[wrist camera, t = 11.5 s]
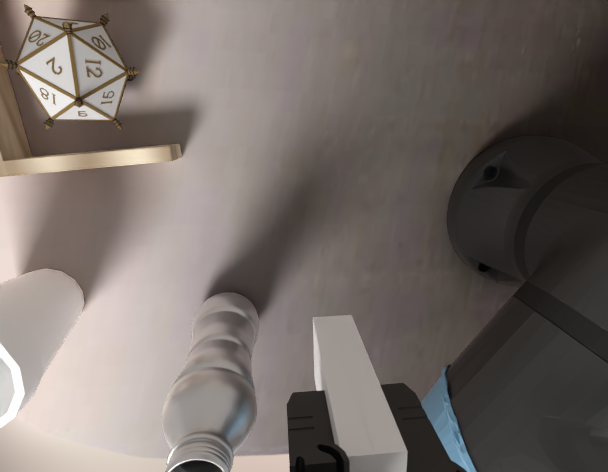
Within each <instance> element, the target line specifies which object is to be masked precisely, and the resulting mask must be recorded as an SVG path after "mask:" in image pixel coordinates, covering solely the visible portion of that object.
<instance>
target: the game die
mask: <svg viewBox="0 0 608 472" xmlns="http://www.w3.org/2000/svg"><path fill="white" fill-rule="evenodd" d="M24 7H25V12H26V13H27V14H28V16H30V17H31V18H32V20H31V23H30V26H29V28H28V31H27V33H26V36H25V38H24V41H23V44H22V46H21V49H20V51H19V54H18V57H17V59H16V62H15V63H14V62H12V61H11V60H10V61H8V60H6V61H4V62H2V63H0V64H1V65H3V66H5V68H7V69H9V68H11V69H13V68H16V69H17V71H16V72H17V73H18V74H19V75H21V77H22V78H23V80H24V81H25V83H26V84H27V86H28V87H29V88H30V90H31V91H32V93H33V94H34V96H35V97H36V99H37V100H38V102H39V103H40V105H41V106H42V108H43V109H44V111H45V112H46V114H47V115H48V117H49V119H48V120H46V123H44V124H45V127H46V130H47V129H49V128H50V127H52V125H53V121H54V120H91V121H113V123H114V124H115V126H116V127H117V128H119V129H121V130H122V128H121V124H122V123H120V122H119V121H118V120H117V119H116V116H117V113H118V109H119V106H120V103H121V99H122V96H123V92H124V89H125V86H126V82H127V80H128V81H129V80H130V81H132V80H133V79H134V77H133V75H134V76H135V75H137V73H139V71H138V70H136V69H135V68H134V67H133V68H130V69H128V68H127V66H126V65H125V63H124V61H123V59H122V57H121V56H120V54H119V52H118V50H117V48H116V46H115V45H114V43H113V41H112V39H111V37H110V36H109V34H108V32H107V30H106V28H105V24H107V22H108V21H109V20H108V13H107V14H105V15H103V16H102V18H100V20H101V21H100V23H97V22H88V21H78V20H69V19H59V18H49V17H40V16H36V15H35V12H34V11H33V10H32V8H30V7H28V6H27V5H25V4H24Z"/></svg>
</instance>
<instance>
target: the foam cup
mask: <svg viewBox="0 0 608 472" xmlns="http://www.w3.org/2000/svg"><path fill="white" fill-rule="evenodd" d="M84 305H85V303H84V295H83V291H82V289H81V288H80V286H79V285H78V283H77V282H76V280H75V279H73V278H72V277H70V276H69V275H67V274H65V273H64V272H62V271H58V270H53V269H48V268H45V269H40V270H35V271H31V272H29V273H26V274H23V275H21V276H18V277H16V278H13V279H11V280H8V281H6V282H3V283H1V284H0V428H1V427H2V426H4V425H5V424H6V423H8V422H9V421H10V420H12V419H13V418H14V417H16V416H17V414H18V413H19V412H20V411H21V410H22V408H23V407H24V406H25V405H26V404H27V403H28V401H29V400H30V399H31V398H32V397H33V395H34V394H35V392H36V389H37V387H38V384H39V382H40V380H41V378H42V376H43V375H44V373H45V371H46V370H47V368H48V366H49V365H50V363H51V362H52V360H53V358H54V357H55V355H56V354H57V352H58V350H59V349H60V347H61V346H62V344H63V342H64V341H65V339H66V338H67V336H68V334H69V333H70V331H71V329H72V328H73V326H74V325H75V323H76V321H77V320H78V318H79V316H80V314H81V312H82V310H83V307H84Z"/></svg>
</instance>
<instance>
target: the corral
mask: <svg viewBox="0 0 608 472" xmlns="http://www.w3.org/2000/svg"><path fill="white" fill-rule="evenodd" d="M4 61H5V59H4V56H3V52H2V49H1V45H0V63H2V62H4ZM180 157H182V154H181V148H180V144H169V145H157V146H146V147H135V148H124V149H112V150H101V151H90V152H79V153H67V154H56V155H45V156H34V157H32V154H31V151H30V147H29V144H28V140H27V137H26V133H25V130H24V126H23V123H22V119H21V115H20V112H19V108H18V105H17V101H16V98H15V94H14V91H13V87H12V84H11V80H10V77H9V73H8V70H7V68H5V66H3V65H1V64H0V177H4V176H15V175H26V174H37V173H48V172H59V171H70V170H81V169H92V168H103V167H113V166H124V165H135V164H146V163H157V162H168V161H173V160H176V159H178V158H180Z"/></svg>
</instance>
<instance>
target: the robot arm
mask: <svg viewBox="0 0 608 472" xmlns="http://www.w3.org/2000/svg"><path fill="white" fill-rule="evenodd" d="M447 227H448V234H449V238H450V241H451V243H452V246H453V248H454V250H455V252H456V253H457V255H458V256H459V257H460V259H461V260H462V261H463V262H464V263H465V264H466V265H468V266H469V267H470V268H472V269H473V270H474V271H476V272H477V273H479V274H480V275H482V276H483V277H485V278H487V279H489V280H492V281H494V282H497V283H501V284H505V285H511V286H517V287H520V288H519V289H518V291H517V292H516V293H515V294H514V295H513V296H512V297H511V298H510V299H509V300H508V301H507V302H506V304H505V305H504V306H503V307H502V308H501V309H500V310H499V311H498V313H497V314H496V315H495V316H494V317H493V318H492V319H491V320H490V322H489V323H488V324H487V325H486V326H485V327H484V328H483V330H482V331H481V332H480V333H479V334H478V335H477V336H476V337H475V339H474V340H473V341H472V342H471V343H470V344H469V345H468V347H467V348H466V349H465V350H464V351H463V352H462V353H461V354H460V356H459V357H458V358H457V359H456V360H455V361H454V362H453V364H452V365H448V366H446V367H445V368H444V369H443V370H442V373H441V377H440V378H439V379H438V381H437V382H436V383H435V385H434V386H433V387H432V388H431V390H430V391H429V392H428V393H427V395H426V396H425V397H424V399H423V400H422V402H421V403H420V401H419V399H418V397H417V395H416V393H414V392H413V391H412V390H411V389H410V388H409V387H407V386H406V385H405V384H404V383H398V384H385V385H380V383H379V381H378V378H377V376H376V374H375V371H374V369H373V366H372V364H371V361H370V359H369V357H368V354H367V352H366V349H365V347H364V344H363V342H362V340H361V337H360V335H359V332H358V330H357V327H356V325H355V323H354V320H353V318H352V315H343V316H328V317H313V337H314V374H315V384H316V390H317V391H308V392H295V393H293V394H292V395H291V397H290V399H289V401H288V403H287V418H288V439H289V459H290V472H608V164H607V163H604V162H602V161H601V160H599V159H598V158H596V157H594V156H593V155H591V154H589V153H588V152H586V151H585V150H583V149H581V148H580V147H578V146H576V145H575V144H573V143H571V142H568V141H566V140H562V139H559V138H555V137H548V136H530V135H528V136H518V137H513V138H510V139H506V140H504V141H501V142H499V143H497V144H495V145H493V146H491V147H489V148H488V149H486V150H485V151H484V152H482V153H481V154H480V155H478V156H477V157H476V158H475V159H474V160H473V161H472V162H471V163H470V164H469V165H468V167H467V168H466V169H465V170H464V172H463V173H462V175H461V176H460V178H459V179H458V181H457V183H456V185H455V187H454V189H453V192H452V195H451V198H450V201H449V206H448V212H447Z"/></svg>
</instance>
